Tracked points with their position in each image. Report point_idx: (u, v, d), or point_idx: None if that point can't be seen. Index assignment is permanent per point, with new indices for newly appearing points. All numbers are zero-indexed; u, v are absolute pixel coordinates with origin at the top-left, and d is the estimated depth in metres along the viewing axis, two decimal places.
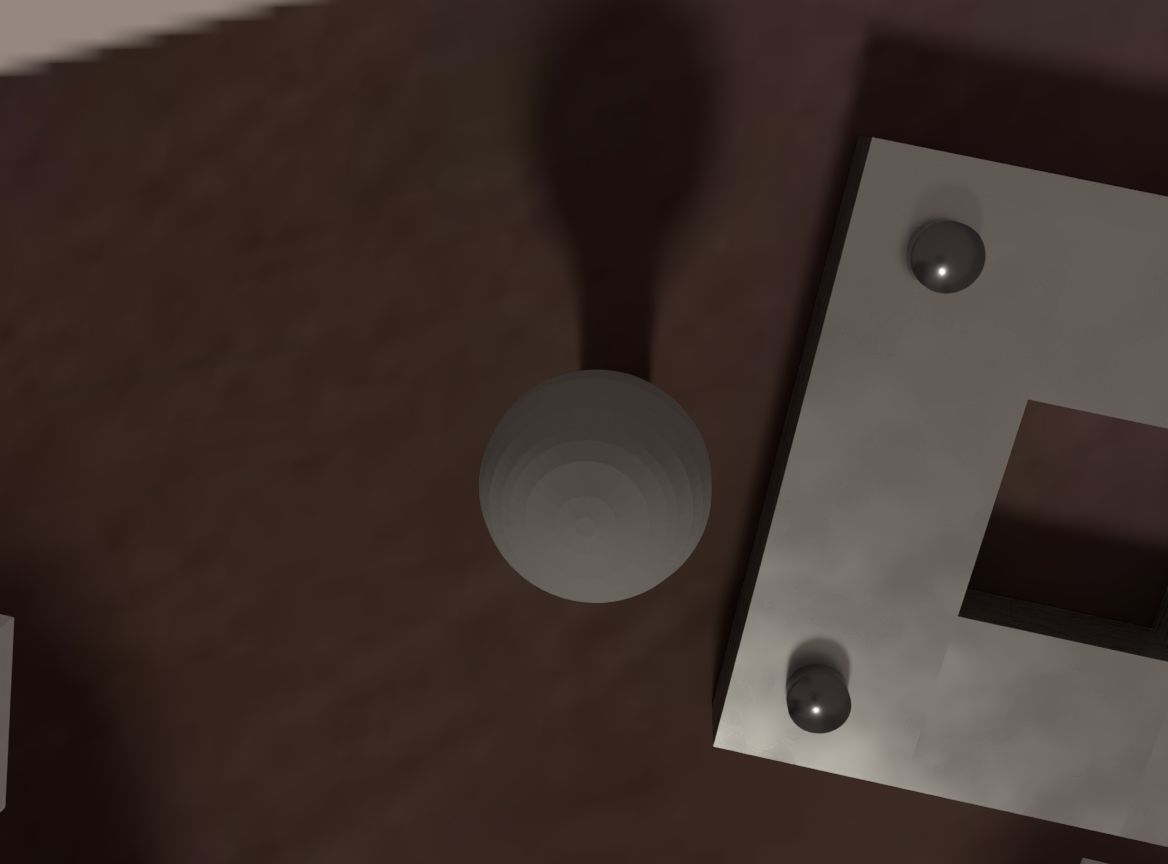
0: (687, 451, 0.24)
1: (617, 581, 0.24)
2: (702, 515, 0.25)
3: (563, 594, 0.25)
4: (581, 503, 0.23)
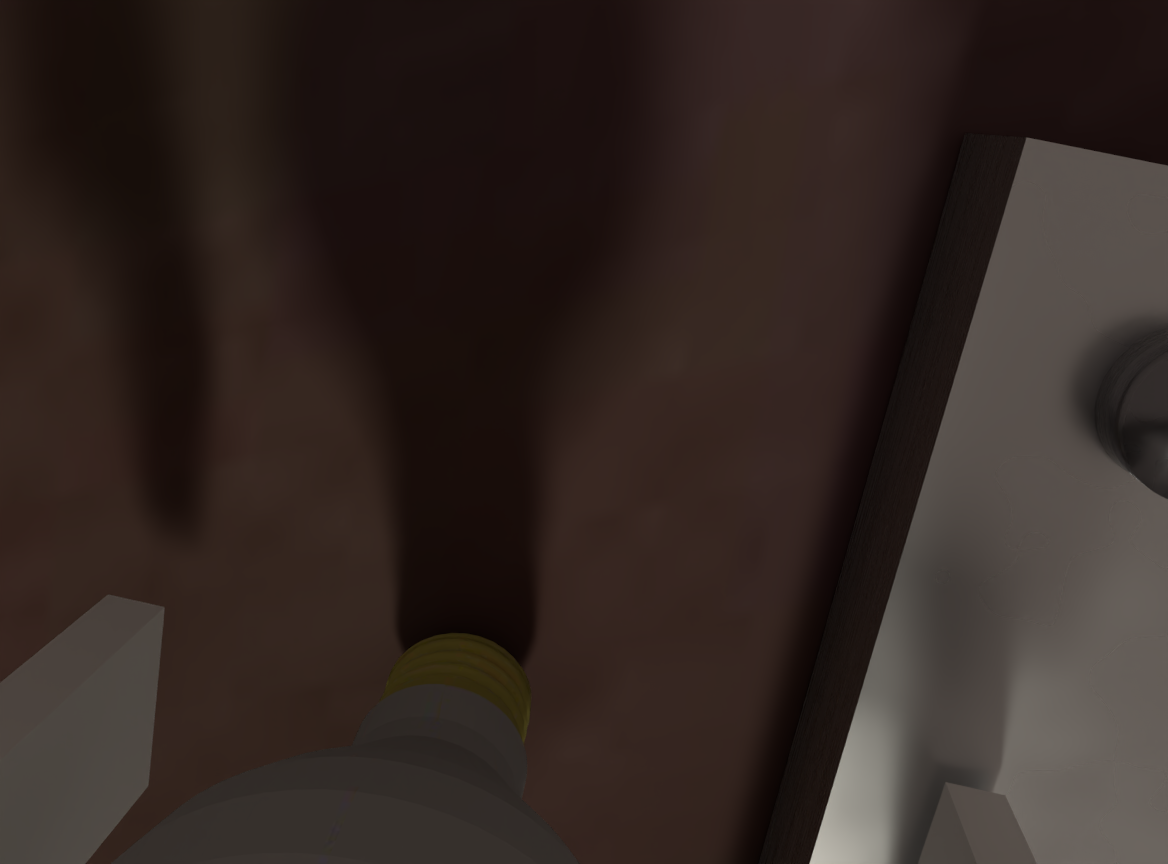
0: None
1: None
2: None
3: None
4: None
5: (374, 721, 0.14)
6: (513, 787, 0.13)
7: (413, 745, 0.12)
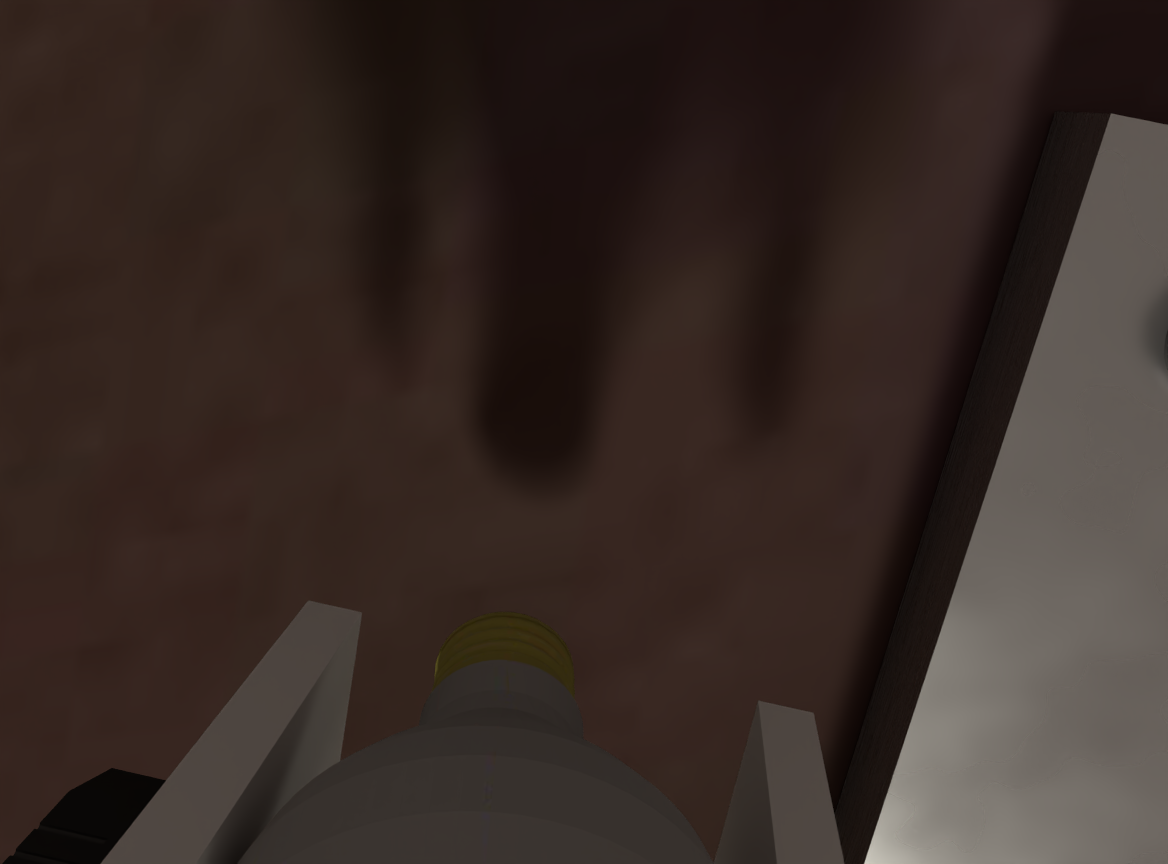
0: None
1: None
2: None
3: None
4: None
5: (445, 696, 0.14)
6: None
7: (507, 715, 0.12)
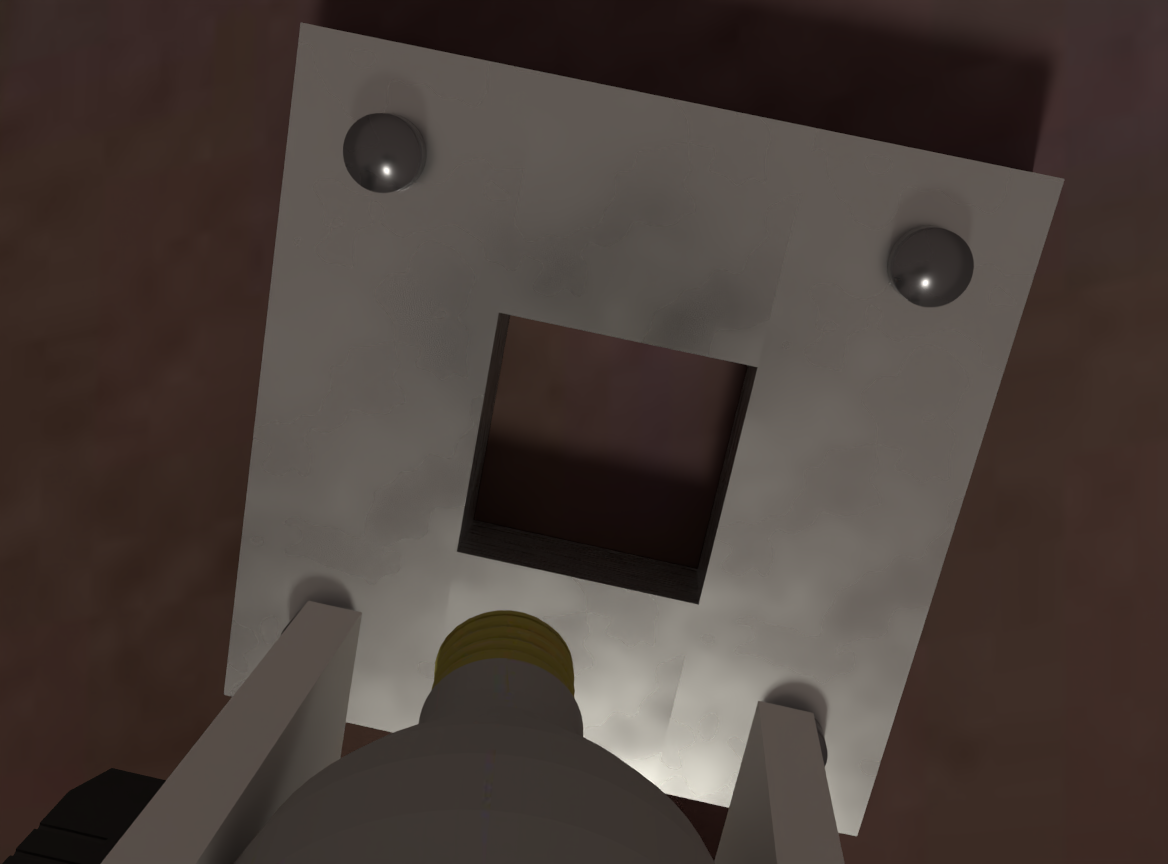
0: None
1: None
2: None
3: None
4: None
5: (444, 695, 0.14)
6: None
7: (506, 713, 0.12)
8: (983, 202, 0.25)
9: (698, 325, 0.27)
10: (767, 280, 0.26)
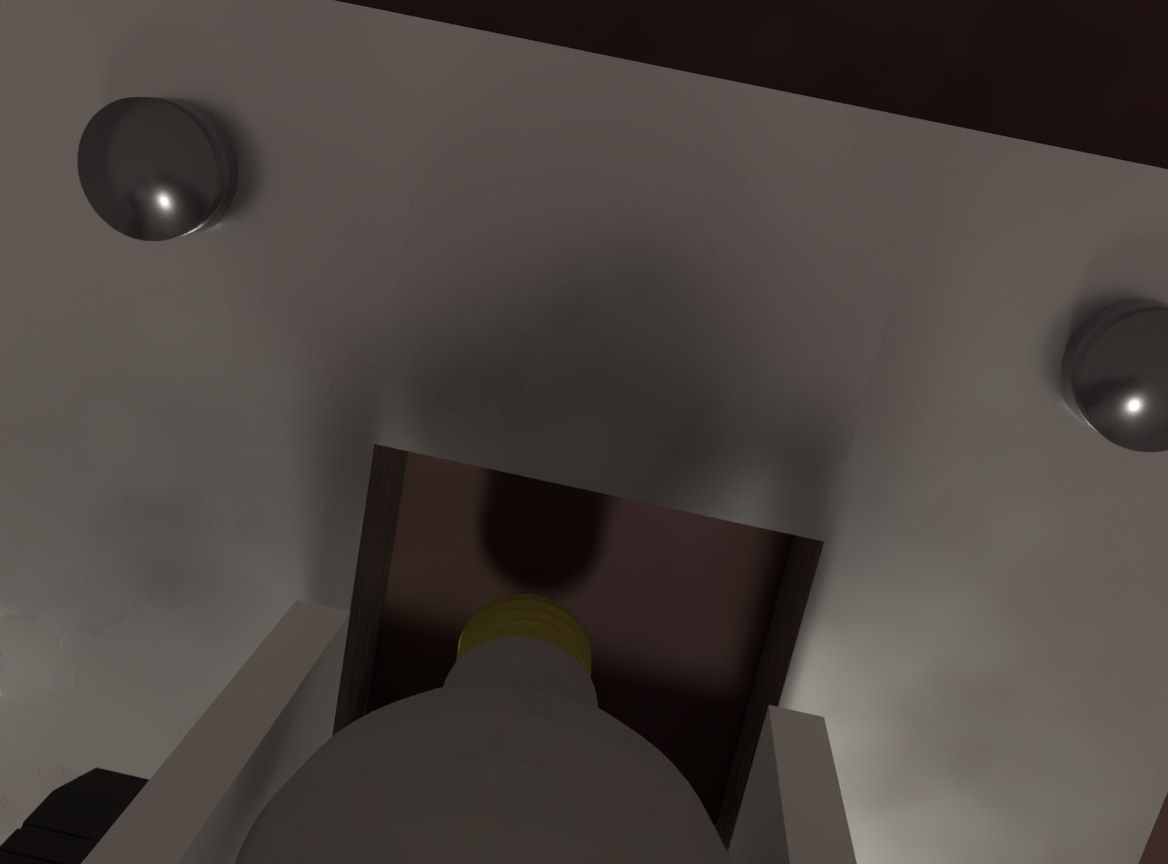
0: None
1: None
2: None
3: None
4: None
5: (465, 670, 0.15)
6: None
7: None
8: None
9: (720, 470, 0.15)
10: (844, 395, 0.15)
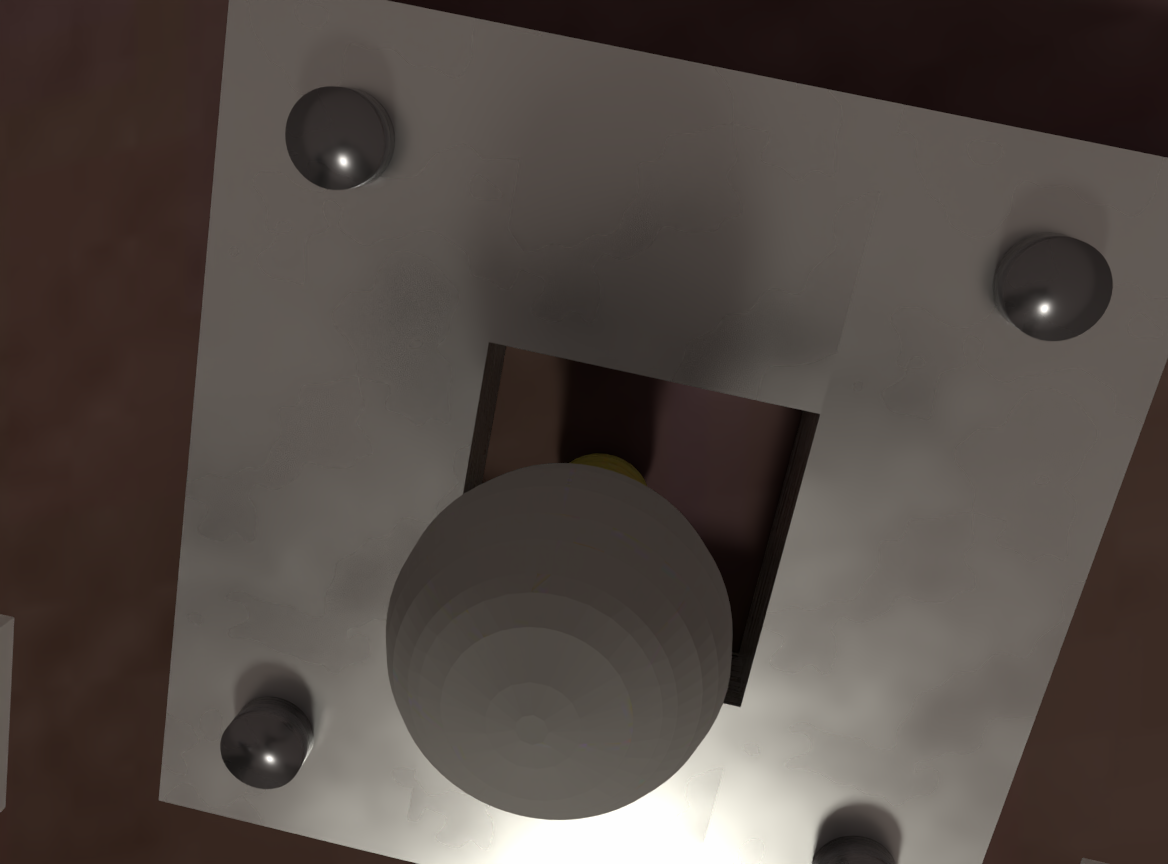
0: (693, 602, 0.16)
1: (584, 802, 0.16)
2: (717, 694, 0.16)
3: (507, 811, 0.16)
4: (525, 694, 0.15)
5: None
6: None
7: None
8: (1124, 203, 0.19)
9: (744, 360, 0.21)
10: (835, 304, 0.20)
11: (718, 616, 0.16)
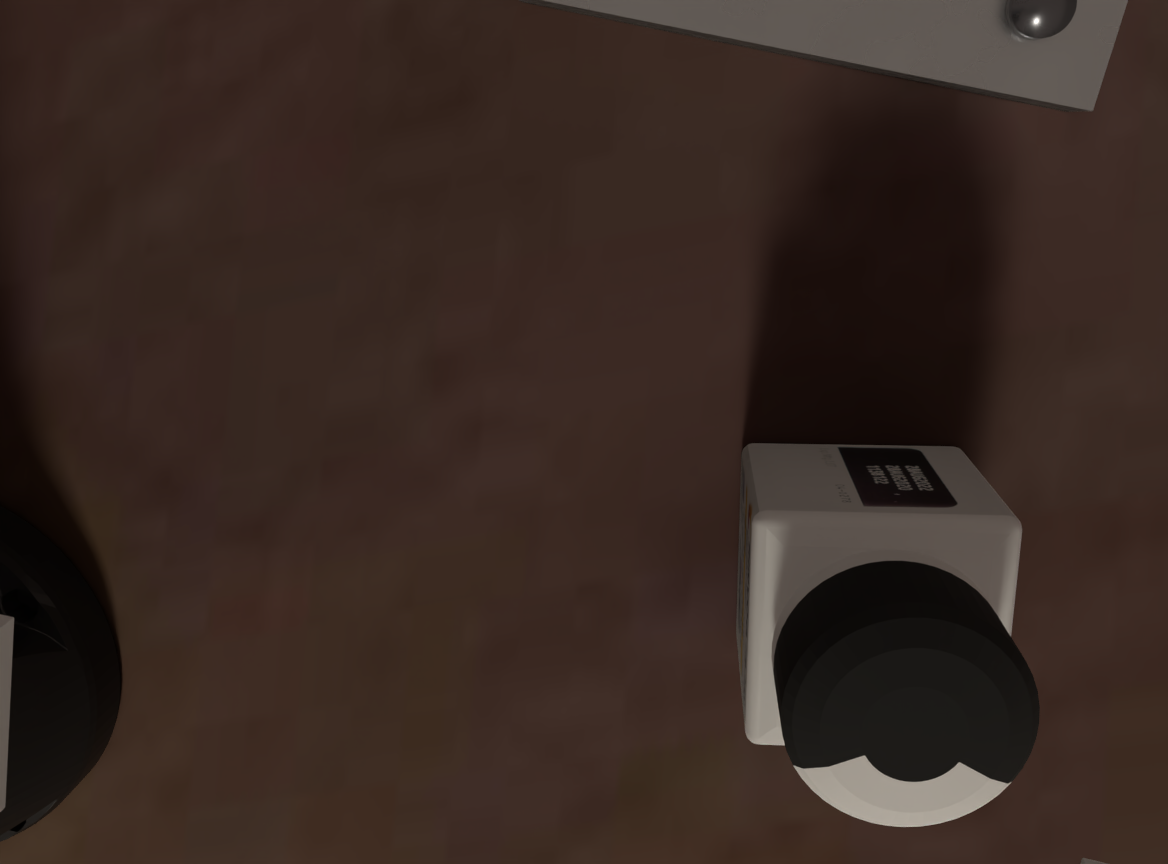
0: None
1: None
2: None
3: None
4: None
5: None
6: None
7: None
8: None
9: None
10: None
11: None
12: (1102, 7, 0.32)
